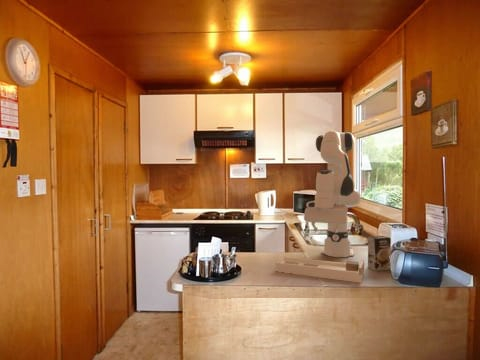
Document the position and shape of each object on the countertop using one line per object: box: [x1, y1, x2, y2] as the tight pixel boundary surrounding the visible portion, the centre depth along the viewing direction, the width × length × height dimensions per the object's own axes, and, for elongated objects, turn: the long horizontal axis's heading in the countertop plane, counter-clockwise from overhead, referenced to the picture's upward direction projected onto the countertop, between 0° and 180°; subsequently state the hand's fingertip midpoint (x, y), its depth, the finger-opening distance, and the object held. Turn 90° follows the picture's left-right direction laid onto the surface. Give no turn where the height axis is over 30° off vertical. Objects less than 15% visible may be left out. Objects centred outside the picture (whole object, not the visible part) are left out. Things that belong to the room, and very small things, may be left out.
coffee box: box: [367, 235, 392, 272], centre depth 170 cm, size 9×6×16 cm
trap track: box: [275, 256, 365, 283], centre depth 164 cm, size 13×40×6 cm, turn 64°
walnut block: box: [345, 260, 359, 272], centre depth 157 cm, size 5×5×4 cm
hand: (325, 231), depth 162 cm, fingers open, 8 cm apart
